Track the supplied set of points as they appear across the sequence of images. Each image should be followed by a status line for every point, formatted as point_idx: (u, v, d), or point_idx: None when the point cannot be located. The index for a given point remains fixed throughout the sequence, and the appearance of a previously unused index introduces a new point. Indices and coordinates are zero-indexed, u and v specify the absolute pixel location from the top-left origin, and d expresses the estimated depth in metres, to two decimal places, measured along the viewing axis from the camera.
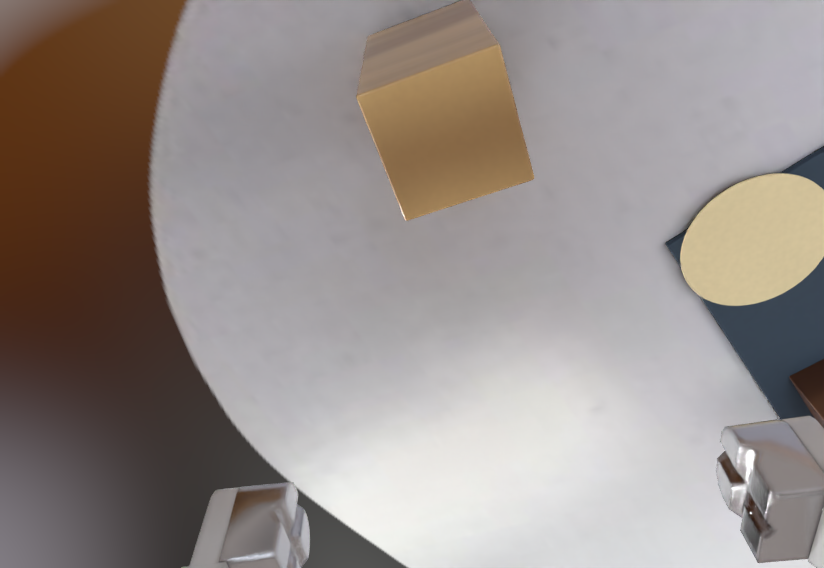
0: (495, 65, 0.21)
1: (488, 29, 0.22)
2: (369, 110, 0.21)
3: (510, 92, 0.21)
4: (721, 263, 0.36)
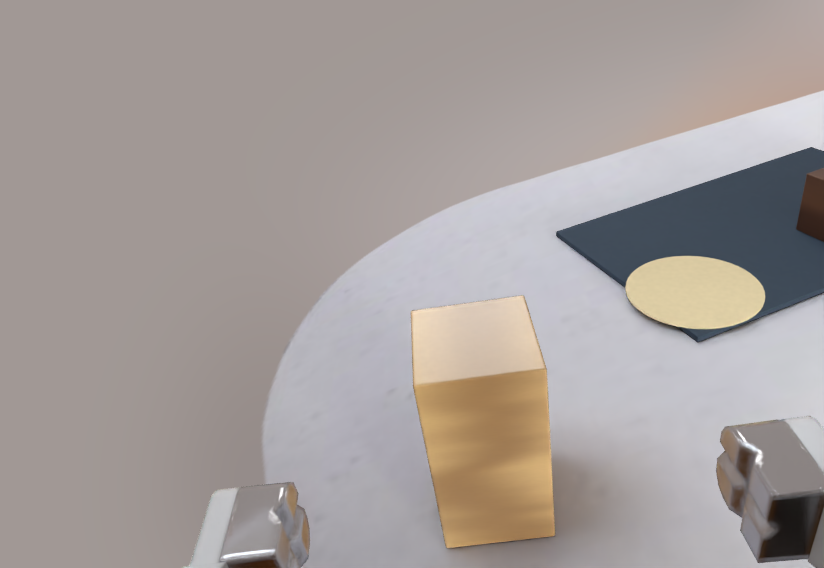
0: (424, 312, 0.27)
1: None
2: (428, 379, 0.24)
3: None
4: (716, 305, 0.40)
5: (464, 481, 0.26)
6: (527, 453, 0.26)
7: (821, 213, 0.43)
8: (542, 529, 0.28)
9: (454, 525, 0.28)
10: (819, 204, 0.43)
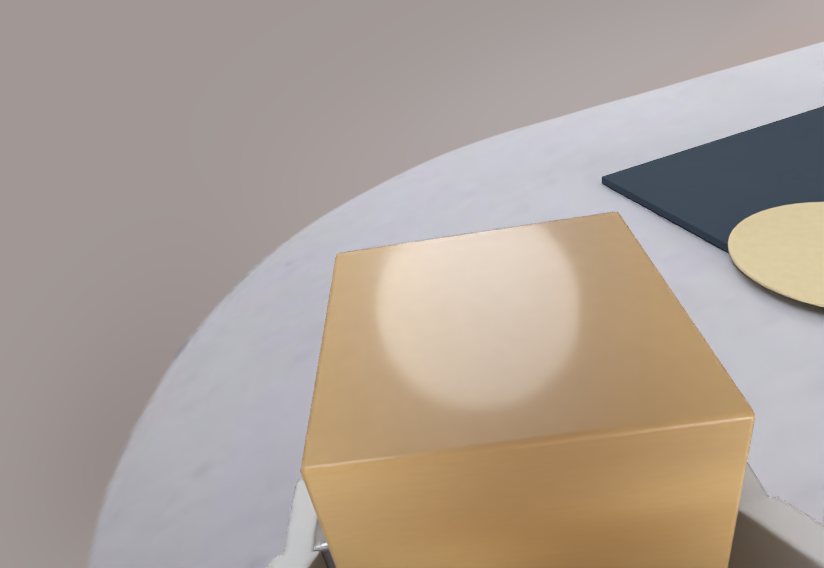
0: (368, 255, 0.11)
1: None
2: (352, 445, 0.07)
3: None
4: None
5: None
6: None
7: None
8: None
9: None
10: None
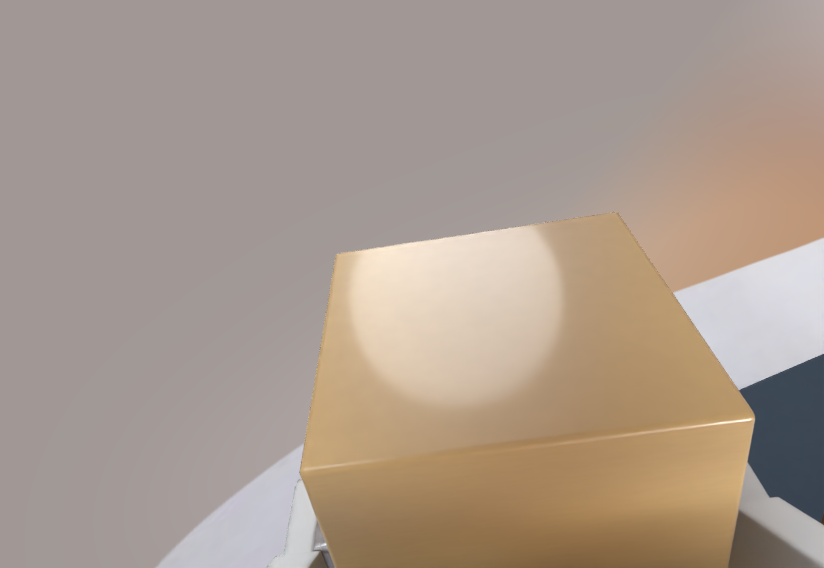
0: (368, 255, 0.11)
1: None
2: (352, 446, 0.07)
3: None
4: None
5: None
6: None
7: None
8: None
9: None
10: None
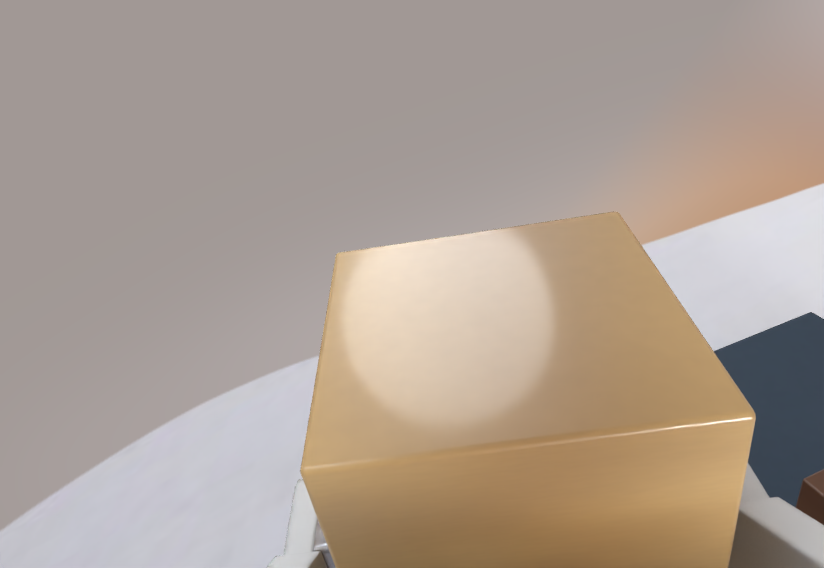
0: (368, 255, 0.11)
1: None
2: (352, 445, 0.07)
3: None
4: None
5: None
6: None
7: None
8: None
9: None
10: None
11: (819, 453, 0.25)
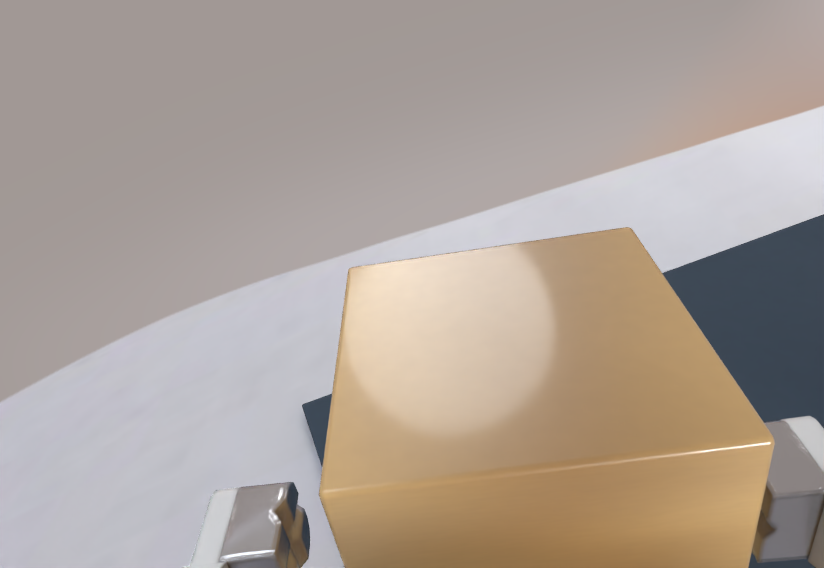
0: (381, 270, 0.11)
1: None
2: (371, 468, 0.07)
3: None
4: None
5: None
6: None
7: None
8: None
9: None
10: None
11: None
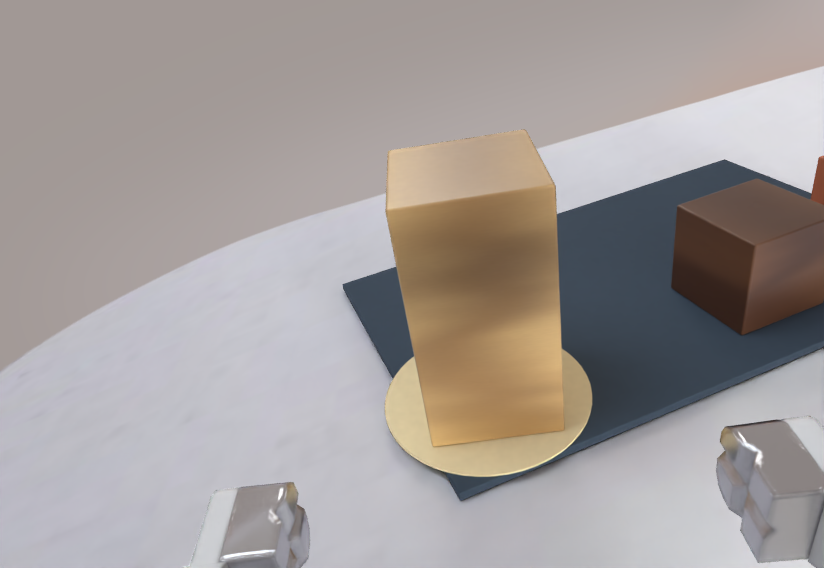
0: (404, 150, 0.22)
1: None
2: (405, 202, 0.19)
3: None
4: None
5: (453, 351, 0.21)
6: (530, 311, 0.20)
7: (699, 268, 0.28)
8: (549, 421, 0.23)
9: (441, 414, 0.23)
10: (696, 253, 0.27)
11: None
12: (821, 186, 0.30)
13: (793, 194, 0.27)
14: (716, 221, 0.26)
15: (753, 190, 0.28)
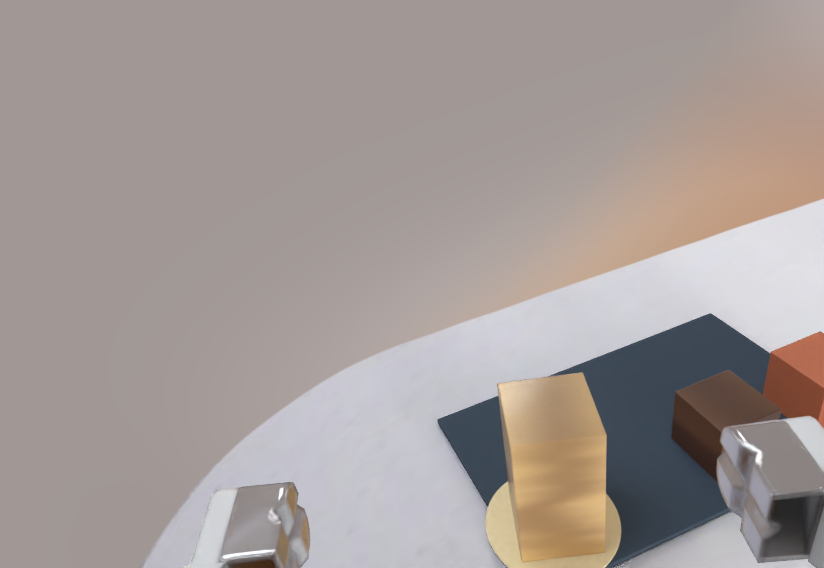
0: (508, 385, 0.37)
1: None
2: (520, 441, 0.33)
3: None
4: None
5: (540, 512, 0.36)
6: (588, 493, 0.35)
7: (690, 433, 0.42)
8: (595, 547, 0.37)
9: (529, 544, 0.37)
10: (687, 424, 0.42)
11: None
12: (772, 369, 0.44)
13: (751, 388, 0.41)
14: (700, 410, 0.40)
15: (725, 381, 0.42)
